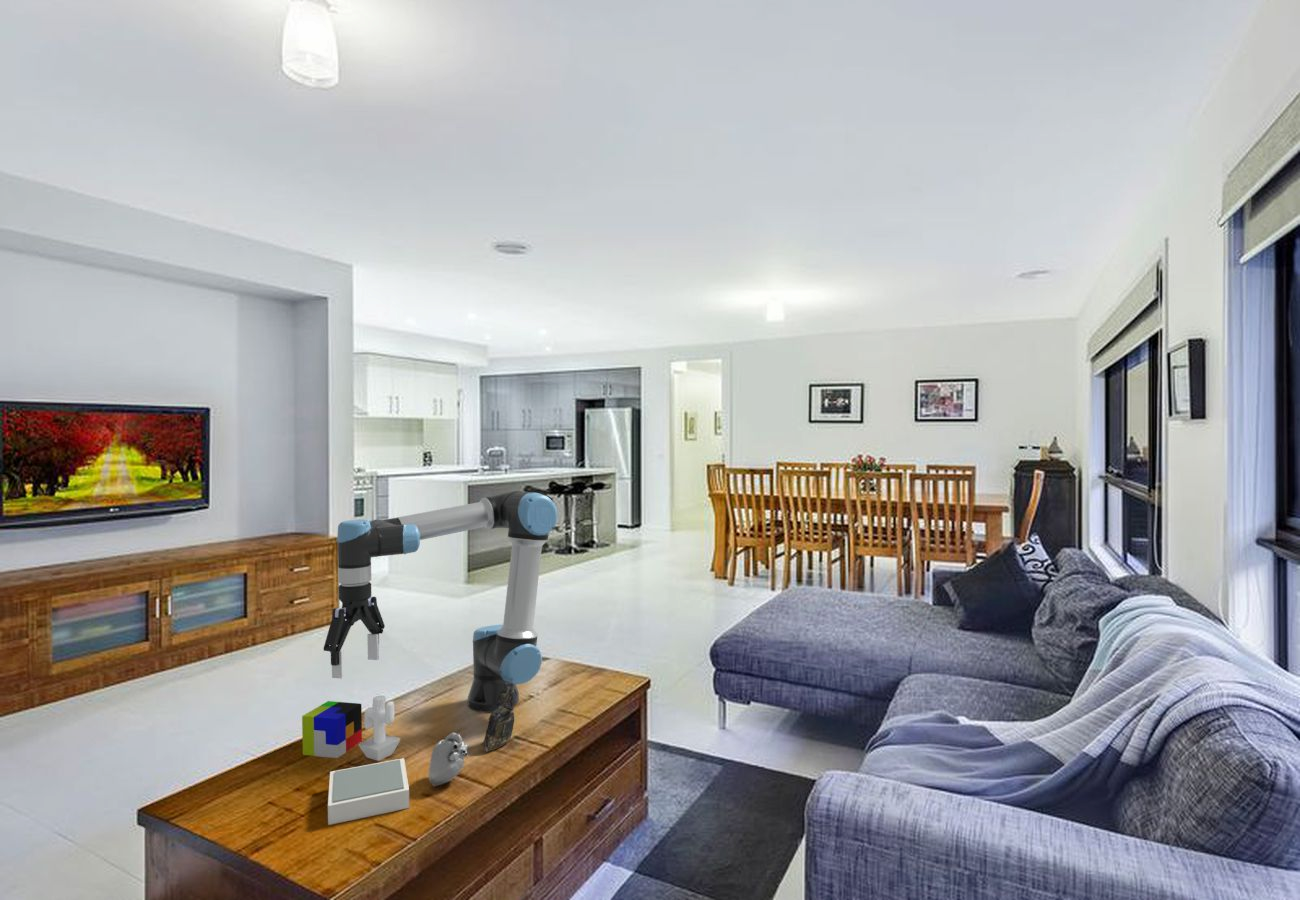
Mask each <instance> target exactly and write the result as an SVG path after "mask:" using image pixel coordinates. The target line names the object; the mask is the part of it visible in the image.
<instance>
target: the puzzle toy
mask: <svg viewBox="0 0 1300 900" xmlns="http://www.w3.org/2000/svg"><path fill="white" fill-rule="evenodd" d="M362 715H363V713H362V703H358V702H357V703H356V702H343V701H334V700H332V701H331V700H328V701H326V702H323V703H322V704H321V705H318V706H317V707H315V708H314V709H312V710H310V711H309V712H306V713H305V714H303V715H302V716H301V722H302V724H301V725H302V726H301V727H302V728H301V730H302V732H301V733H302V755H303V756H311V757H312V756H313V757H323V758H331V759H333V758H334V759H338V758H340V757H341V756H343V755H345V754H346V753H347V752H348V751H350V750H351V749H353V748H354V747H355V746H357V745H358V744H359V743H361V742H363V728H362V727H363V725H362V724H363V722H362V721H363V719H362V717H363V716H362Z"/></svg>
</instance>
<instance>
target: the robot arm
mask: <svg viewBox="0 0 1300 900" xmlns="http://www.w3.org/2000/svg"><path fill="white" fill-rule="evenodd" d="M557 522H558V510H557V506H556V504H555V503H554V501H553V500H552V499H551V498H550V497H548V496H547V495H545V494H541V493H540V492H539V493H538V492H530V491H529V492H528V491H523V490H522V491H520V490H512V491H508V492H504V493H500V494H495V495H492V496H487V497H481V499H480V500H479V502H473V503H468V504H462V505H458V506H452V507H446V508H440V509H436V510H435V509H434V510H430V511H426V512H418V513H413V514H408V515H402V516H398V517H393V518H387V519H378V518H377V519H371V520H367V519H354V520H353V519H351V520H345V521H341V522H340V523H339V524H338V526H337V536H336V537H337V539H336V543H337V567H338V569H337V570H338V574H337V575H338V577H337V578H338V581H337V582H338V584H340V585H338V591H337V592H338V600H339V601H340V602H341V603H342V605H341V608H336V607H335V608H333V609H332V612H331V613H332V614H331V616H332V617H331V621H330V625H329V628H328V631H327V635H326V638H325V642H324V646H323V651H324V652H330V653H329V654H330V665H331V678H333V679H340V680H341V679H344V678H345V667H344V666H345V665H344V664H345V663H344V662H345V661H344V659H345V658H344V657H345V656H344V655H345V654H344V650H342V648H343V646H344V643H345V641H346V639H347V637H348V634H349V633H350V630H351V628H352V626H354V624H355V623H357V622H358V621H361V623H363V625H364V626H365V629H367V630H368V632H369V633H367V660H372V661H378V660H380V653H379V651H380V649H379V648H380V647H379V646H380V634H383V633H384V629H385V628H386V627H385V623H384V619H383V617H382V614H381V611H380V609H379V606H378V601H377V596H372V583H371V582H370V581H372V558H377V557H386V556H393V555H394V556H397V555H407V554H411V553H416V552H417V551H418V550H419V549H420V545H421V541H422V540H427V539H432V538H437V537H442V536H447V535H452V534H457V533H461V532H467V531H471V530H477V529H481V528H485V529H486V530H492V529H508V530H507V531H508V533H507V538H508V540H509V541H510V542H511V552H510V559H509V560H510V562H509V571H508V577H507V578H508V580H507V587H506V596H505V597H506V598H505V608H504V615H503V622H502V623H503V624H494V625H493V624H492V625H486V626H482V627H479V628H476V629H475V630H474V631H473V635H472V650H473V651H472V653H473V654H472V655H473V656H472V658H473V659H472V660H473V661H472V662H473V663H472V664H473V679H472V683H471V686H470V690H469V692H468V696H467V706H468V708H469V709H471V710H474V711H476V712H486V713H487V712H489V713H491V712H492V711H493V710H495V709H497V708H498V707H499V706H496V702H497V699H498V697H499V694H500V692H501V690H503V687H504V684H505V683H506V682H508V683H513V684H514V693H515V703H514V706H517V704H518V703H519V701H520V692H519V690H518V686H517V685H524V684H526V683H528V682H530V681H531V680H533V678H534V677H535V676H537V674H539V671H540V670H541V666H542V662H543V656H542V655H543V654H542V652H541V651H540V649H539V647H537V644H538V643H537V642H538V633H537V631H535V629H534V622H535V614H536V613H535V612H536V604H537V596H538V595H537V593H538V585H539V576H540V575H539V574H540V568H541V567H540V565H541V559H542V557H541V556H542V549H543V545H545V544H546V543H548V541H549V533H550V532H552V530H553V529H554V528H555V526H556V525H557Z"/></svg>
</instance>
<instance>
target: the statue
mask: <svg viewBox="0 0 1300 900" xmlns="http://www.w3.org/2000/svg"><path fill="white" fill-rule="evenodd" d="M514 703H515V693H514V684H513V683H508V682H506V683H505V684H504V687H503V690H501V692H500V694H499V697H498V699H497V702H496V706H499V707H498V708H497V709H495V710H493V711H492V712H490V714H489V717H488V721H487V727H486V731H485V736H484V739H483V741H482V746H483V750H484V751H485V752H491V751H495V750H497V749H500V747H503V746H504V745H506V743H508V742H509V741H510V740H511V737H512V735H513V730H514V723H515V713H514V712H513V711H514V709H515V705H514Z"/></svg>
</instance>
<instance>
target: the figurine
mask: <svg viewBox="0 0 1300 900" xmlns="http://www.w3.org/2000/svg"><path fill="white" fill-rule="evenodd" d="M363 715H364V716H363V722H364V723H363V724H364V725H363V726H364V727H363V728H364V729H365V730H370V729H372V728H373V736H372V737H370V738H368V739H366V740H365V739H364V741H363V740H362V741H361V742H360V743H358V744H357V745H358V746H359V748H360V749H361V751H362V752H363V754H364V755H365V757H366V758H368V759H371V760H374V761H377V762H379V761H381V760H384V759H385V758H388V757H390V756H391V755H393V754H394V753H395V750H396V749H397V746H399V743H400V742H401V739H402V738H400V737H397V736H393V735H389V734H386V725H391V724H393V722H394V720H395V701H388V702H386V696H384V695H376V696H375V697H373V698H372V705H371V706H370V707H367V708H366V709H365V710H364V714H363Z"/></svg>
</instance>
